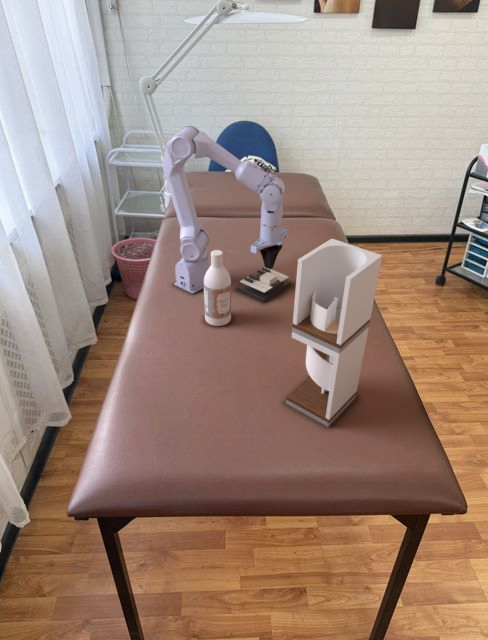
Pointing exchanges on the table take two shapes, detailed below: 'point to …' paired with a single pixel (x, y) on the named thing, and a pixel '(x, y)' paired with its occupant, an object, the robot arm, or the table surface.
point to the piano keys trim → (262, 287)
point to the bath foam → (217, 291)
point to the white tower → (332, 325)
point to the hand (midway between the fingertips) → (268, 267)
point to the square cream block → (268, 278)
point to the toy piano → (261, 295)
